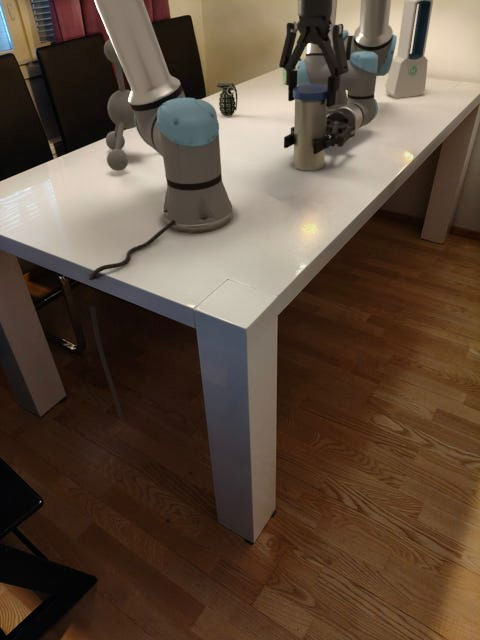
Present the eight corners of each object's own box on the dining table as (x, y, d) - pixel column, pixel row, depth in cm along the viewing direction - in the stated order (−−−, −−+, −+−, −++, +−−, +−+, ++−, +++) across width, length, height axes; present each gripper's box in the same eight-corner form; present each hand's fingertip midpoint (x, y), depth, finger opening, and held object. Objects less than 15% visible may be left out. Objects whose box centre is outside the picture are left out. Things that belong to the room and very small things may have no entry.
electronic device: (393, 98, 176) (407, -1, 157) (383, 94, 181) (395, -2, 163) (424, 94, 178) (441, -4, 160) (413, 90, 184) (428, -5, 165)
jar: (330, 165, 128) (335, 91, 117) (307, 173, 125) (310, 97, 114) (309, 157, 134) (312, 86, 122) (287, 164, 130) (288, 91, 119)
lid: (301, 90, 124) (301, 83, 123) (335, 92, 120) (336, 85, 119) (286, 99, 117) (286, 91, 116) (322, 102, 114) (322, 94, 113)
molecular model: (191, 162, 134) (177, 38, 116) (111, 177, 129) (83, 48, 110) (169, 138, 152) (153, 27, 134) (98, 150, 146) (72, 36, 128)
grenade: (217, 117, 168) (214, 86, 162) (221, 112, 172) (219, 82, 166) (235, 117, 166) (233, 86, 160) (239, 113, 171) (238, 82, 165)
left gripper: (263, -4, 110) (265, 100, 124) (353, -3, 98) (344, 113, 111) (283, -8, 114) (282, 93, 128) (371, -7, 102) (360, 105, 116)
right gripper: (376, 141, 133) (335, 167, 119) (310, 130, 144) (266, 153, 130) (379, 112, 129) (338, 136, 115) (311, 103, 139) (265, 124, 125)
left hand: (311, 102), depth 120 cm, fingers open, 10 cm apart
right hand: (299, 145), depth 122 cm, fingers closed on jar, 8 cm apart
